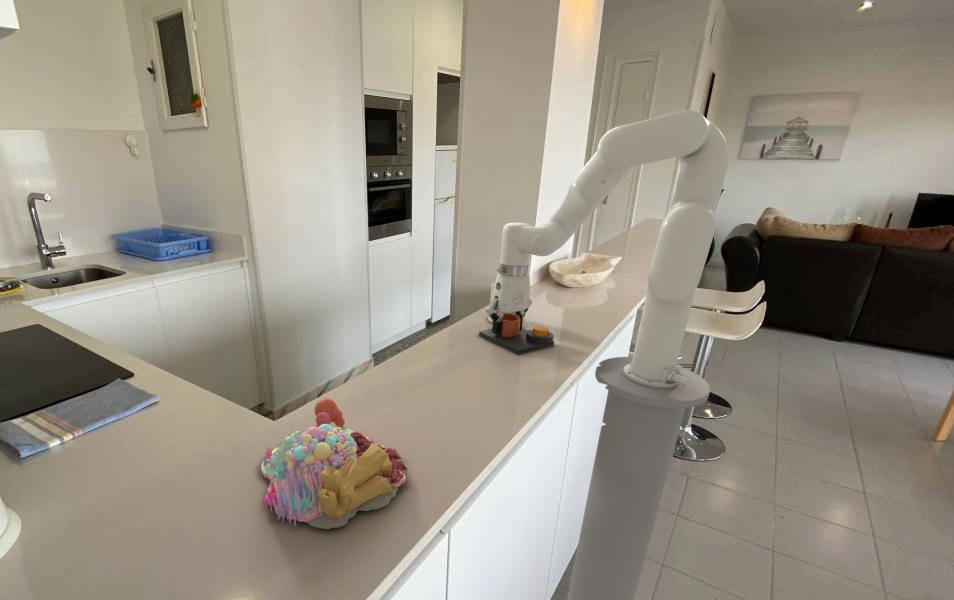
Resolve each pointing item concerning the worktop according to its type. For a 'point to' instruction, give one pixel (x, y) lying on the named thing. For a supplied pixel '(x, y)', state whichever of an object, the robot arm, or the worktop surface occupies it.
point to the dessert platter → (330, 472)
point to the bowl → (510, 325)
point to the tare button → (540, 331)
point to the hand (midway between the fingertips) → (506, 331)
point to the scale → (519, 341)
